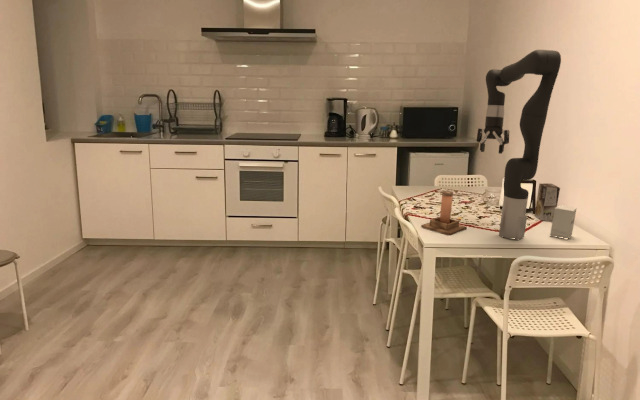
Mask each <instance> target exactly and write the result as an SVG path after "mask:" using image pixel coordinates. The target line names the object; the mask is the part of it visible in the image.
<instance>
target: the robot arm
mask: <svg viewBox="0 0 640 400" xmlns="http://www.w3.org/2000/svg"><path fill="white" fill-rule="evenodd" d="M560 53H561V52H559V51H557V50H552V49H551V50H549V49H536V50H533V51H531V52H530V53H528V54H526V55H525V56H523V58H521V59H520V60H518V61H516V62H515V63H511V64H508V65H506V66H504V67H503V68H502V69H495V68H494V69H490V70H488V72H486V75H485V84H486V88H487V96H488V98H487V107H486V112H485V121H484V122H485V123H484V128H477V133H476V140H475V141H476V142H477V143H479V151H480V153H485V148H486V144H485V143H486V142H487V141H488V140H496V142H497V141H498V143H499V146H498V154H500V155H501V154H503V153H504V151H505V145H508V144H510V130H509V129H505V130H504V128H503V126H504V117H505V102H506V94H505V92H503V91H499V90H498V88H497V87H507V86H509V85H511V84H512V83H514V82H517V81H519V80H521V79H523V77H525V75H529V74H530V75H535V76H541V79H540V82H539V85H538V87H537V88H536V90H535V92H534V93H533V94H532V95H531V97H529V99H528V100H527V101H526V102H525V104H524V105H523V107H522V110H521V115H520V119H519V129H520V133H521V136H522V139H523V141H524V150H523V156H522V157H513V158H510V159H508V161H507V162H506V164H505V167H504V178H503V190H504V195H503V201H502V209H501V210H502V211H501V217H500V223H499V230H498V235H499V236H500V235H501V236H503V237H506V238H505V239H507V238H515V239H519V240H521V239H520V238H522V237H524V238H525V233H526V226H527V219H528V215H527V213H526V212H527V206H528V200H529V190H527V189H525V188H523V187H522V181H529V180H532V179H533V178H534V177H535V176H536V173H537V170H538V166H539V165H538V163H539V156H540V149H541V148H540V147H541V143H542V138H543V134H544V129H545V125H546V122H547V120H546V119H547V115H548V110H549V107H550V102H551V98H552V94H553V90H554V87H555V84H556V81H557V78H558V75H559V71H560V69H561V63H562V56H561V54H560ZM483 134H484V136H483ZM502 135H503V137H502ZM501 236H500V237H501ZM503 237H502V238H503ZM522 239H523V238H522Z"/></svg>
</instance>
